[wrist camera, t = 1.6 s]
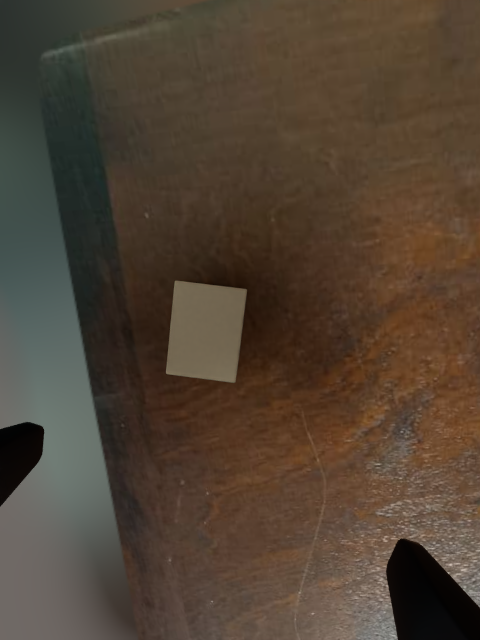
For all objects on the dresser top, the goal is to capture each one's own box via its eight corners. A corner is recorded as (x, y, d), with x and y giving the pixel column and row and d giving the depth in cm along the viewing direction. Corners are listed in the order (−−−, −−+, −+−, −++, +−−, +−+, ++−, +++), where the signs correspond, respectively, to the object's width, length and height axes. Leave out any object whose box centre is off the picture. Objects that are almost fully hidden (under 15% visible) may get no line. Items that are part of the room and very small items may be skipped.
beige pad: (175, 364, 21) (165, 374, 18) (183, 281, 20) (174, 280, 17) (236, 372, 20) (235, 383, 18) (247, 289, 20) (246, 289, 17)
